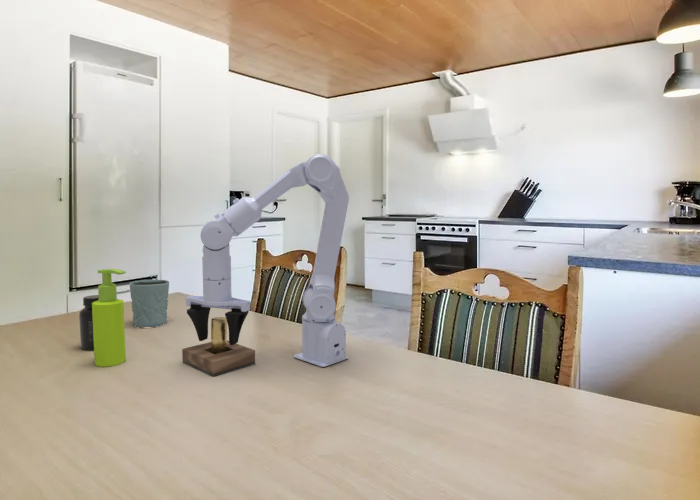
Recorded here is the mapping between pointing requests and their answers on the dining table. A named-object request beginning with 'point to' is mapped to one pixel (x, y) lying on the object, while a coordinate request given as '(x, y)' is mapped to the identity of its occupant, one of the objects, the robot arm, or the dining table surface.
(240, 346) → the walnut block
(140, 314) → the grey-green plant pot
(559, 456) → the dining table surface
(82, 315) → the supplement bottle
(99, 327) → the soap dispenser
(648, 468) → the dining table surface
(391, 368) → the dining table surface
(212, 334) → the brass peg
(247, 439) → the dining table surface
